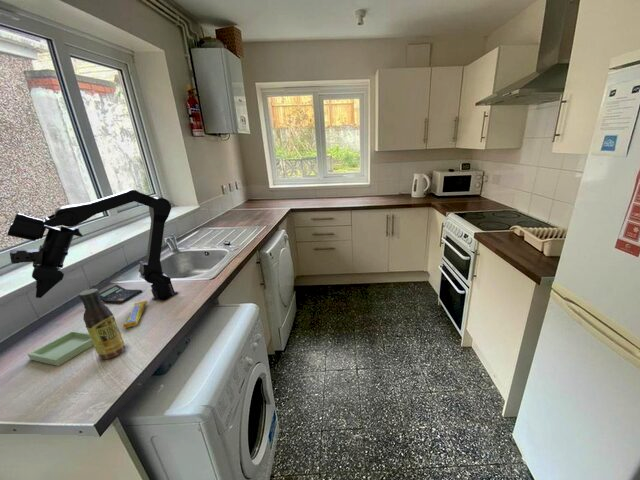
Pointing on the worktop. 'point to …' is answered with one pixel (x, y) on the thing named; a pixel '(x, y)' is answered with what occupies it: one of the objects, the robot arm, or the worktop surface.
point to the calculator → (118, 294)
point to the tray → (62, 348)
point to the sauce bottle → (101, 325)
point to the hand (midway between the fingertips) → (38, 292)
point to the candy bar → (135, 314)
